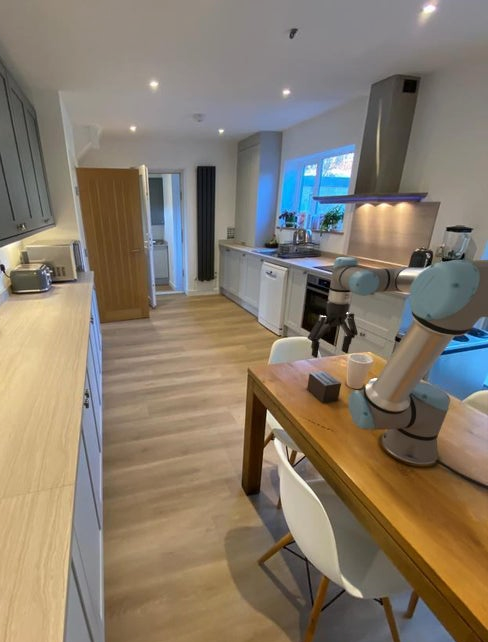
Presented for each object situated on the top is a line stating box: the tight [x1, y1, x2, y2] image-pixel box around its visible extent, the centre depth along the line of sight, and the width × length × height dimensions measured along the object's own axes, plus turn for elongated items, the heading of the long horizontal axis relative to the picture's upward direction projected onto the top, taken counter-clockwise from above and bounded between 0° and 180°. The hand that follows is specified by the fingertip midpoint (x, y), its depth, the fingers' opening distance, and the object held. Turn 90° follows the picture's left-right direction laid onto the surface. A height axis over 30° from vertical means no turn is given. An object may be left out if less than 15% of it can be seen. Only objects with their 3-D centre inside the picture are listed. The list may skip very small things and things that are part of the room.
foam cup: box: [346, 353, 374, 390], centre depth 138 cm, size 10×9×13 cm
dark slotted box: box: [306, 370, 342, 404], centre depth 133 cm, size 12×7×8 cm, turn 14°
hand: (329, 354), depth 126 cm, fingers open, 13 cm apart
